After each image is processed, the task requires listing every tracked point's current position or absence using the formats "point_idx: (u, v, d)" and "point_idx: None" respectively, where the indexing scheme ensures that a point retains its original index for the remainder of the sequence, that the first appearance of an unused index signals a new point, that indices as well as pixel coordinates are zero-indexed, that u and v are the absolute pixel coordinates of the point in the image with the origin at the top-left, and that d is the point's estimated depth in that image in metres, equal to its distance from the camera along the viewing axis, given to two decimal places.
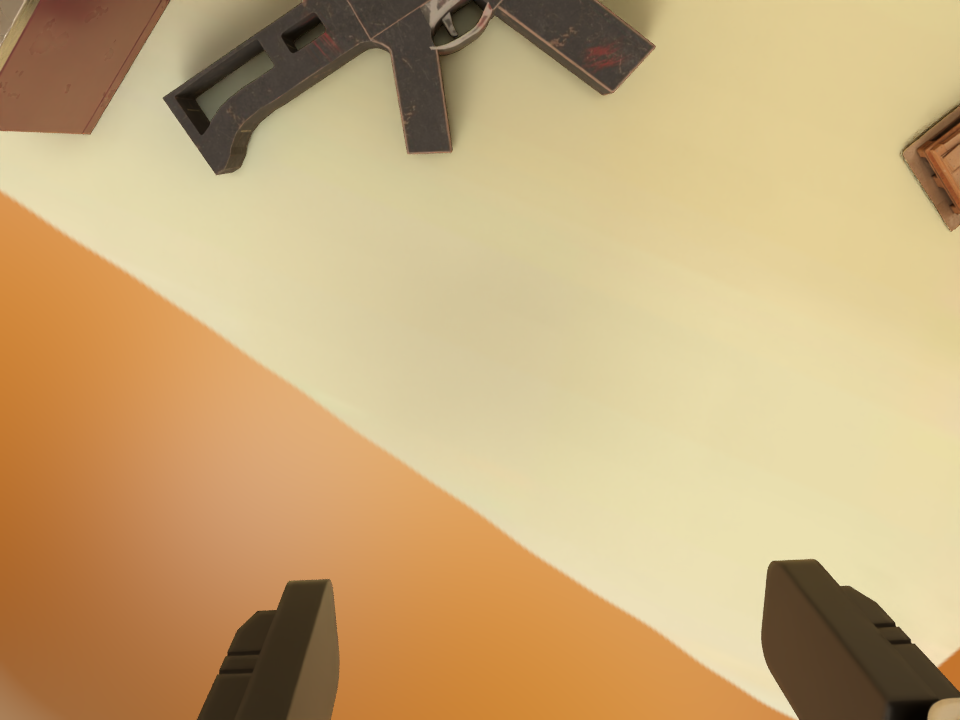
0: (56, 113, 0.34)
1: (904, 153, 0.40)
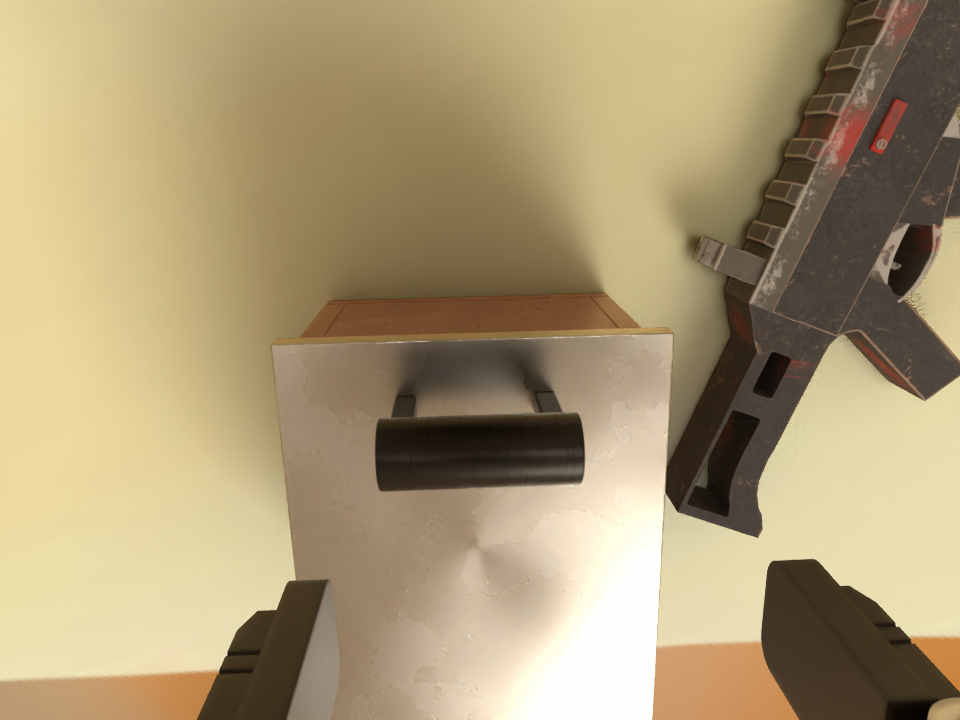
0: None
1: None
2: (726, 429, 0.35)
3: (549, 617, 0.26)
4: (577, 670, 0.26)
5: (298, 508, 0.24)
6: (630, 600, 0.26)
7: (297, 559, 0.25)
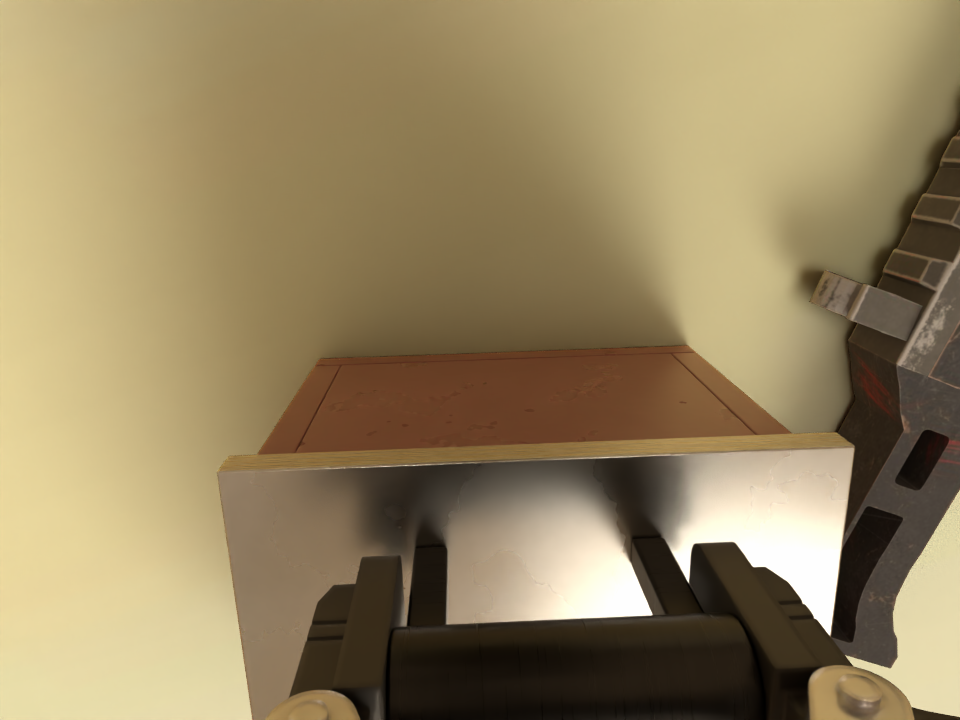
0: None
1: None
2: None
3: None
4: None
5: (266, 709, 0.16)
6: None
7: None
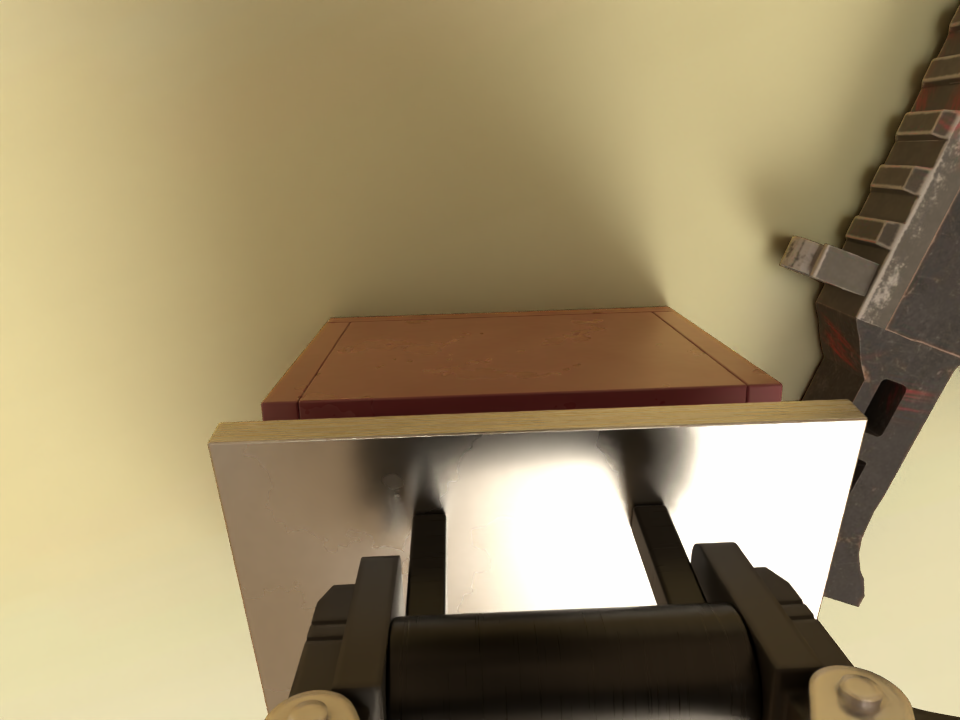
0: None
1: None
2: None
3: None
4: None
5: (270, 656, 0.16)
6: None
7: None
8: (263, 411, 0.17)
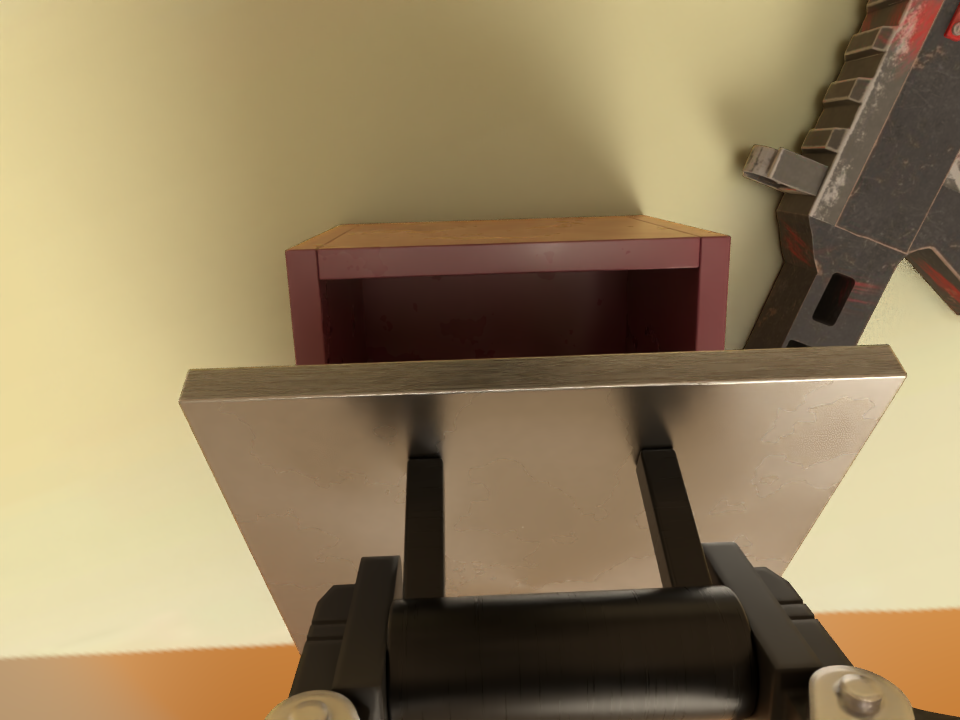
0: None
1: None
2: None
3: None
4: None
5: (270, 562, 0.17)
6: None
7: (278, 599, 0.18)
8: (287, 258, 0.20)
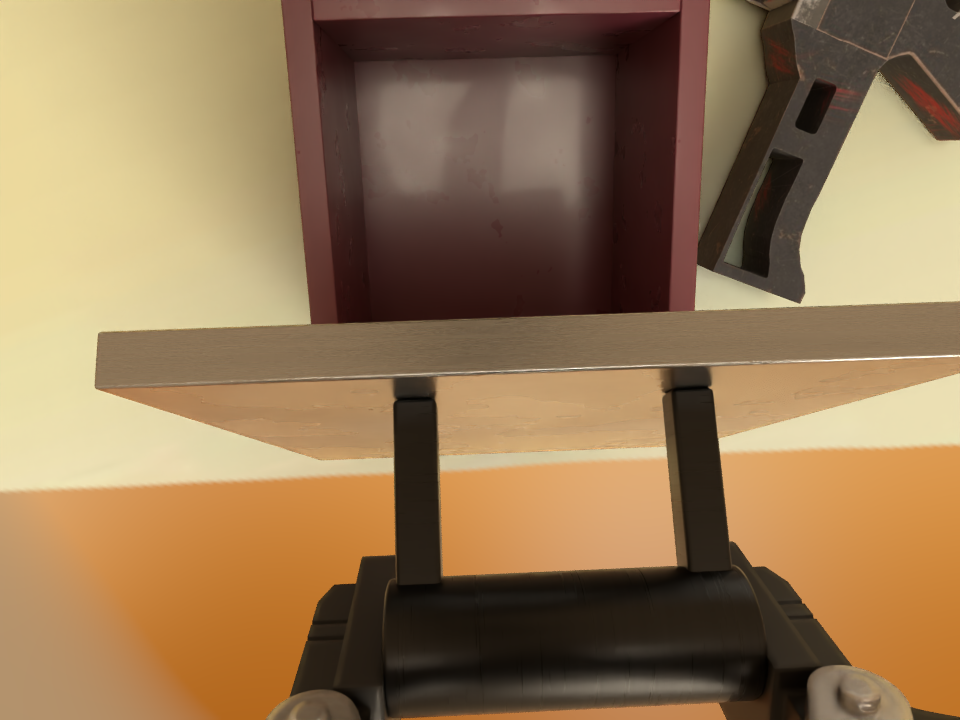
0: None
1: None
2: (763, 193, 0.32)
3: (605, 436, 0.20)
4: (625, 442, 0.22)
5: (247, 431, 0.15)
6: (716, 430, 0.20)
7: (262, 440, 0.17)
8: None
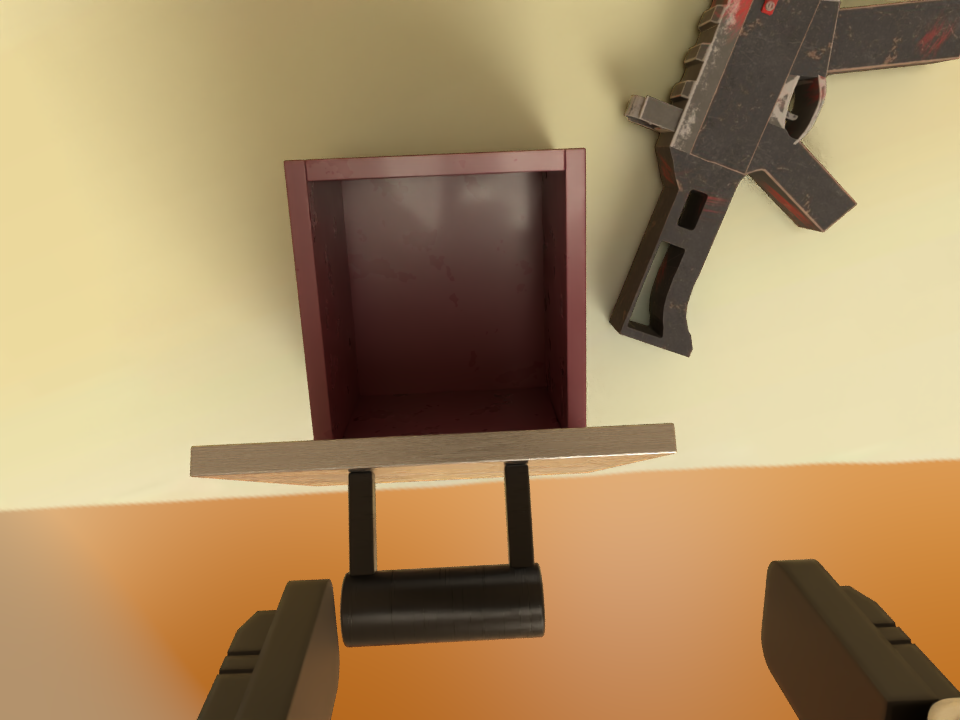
0: None
1: None
2: (662, 269, 0.41)
3: None
4: None
5: (265, 481, 0.24)
6: (583, 469, 0.29)
7: (275, 482, 0.26)
8: (285, 166, 0.30)
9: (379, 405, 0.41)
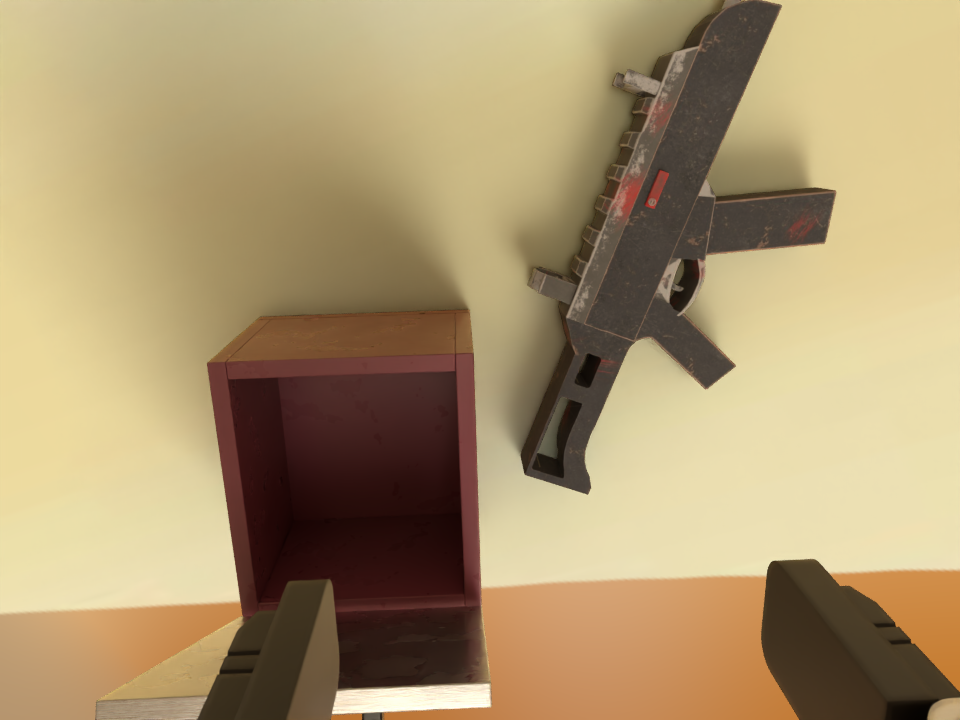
0: None
1: None
2: (566, 412, 0.46)
3: None
4: None
5: None
6: None
7: None
8: (208, 367, 0.35)
9: (308, 534, 0.45)
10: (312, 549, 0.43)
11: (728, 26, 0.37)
